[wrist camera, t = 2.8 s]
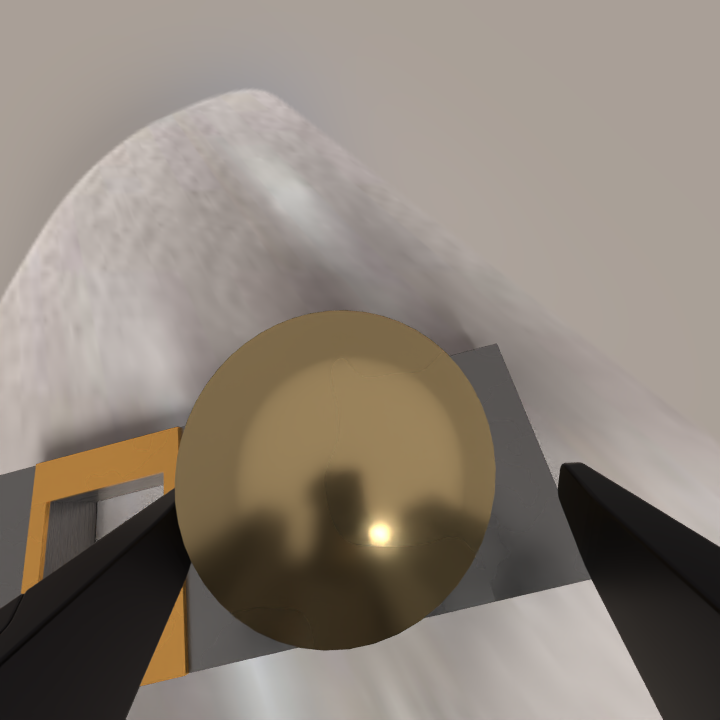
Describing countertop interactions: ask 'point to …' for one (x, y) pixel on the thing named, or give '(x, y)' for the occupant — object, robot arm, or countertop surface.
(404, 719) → the countertop surface
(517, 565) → the hole rail
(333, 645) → the brass peg
